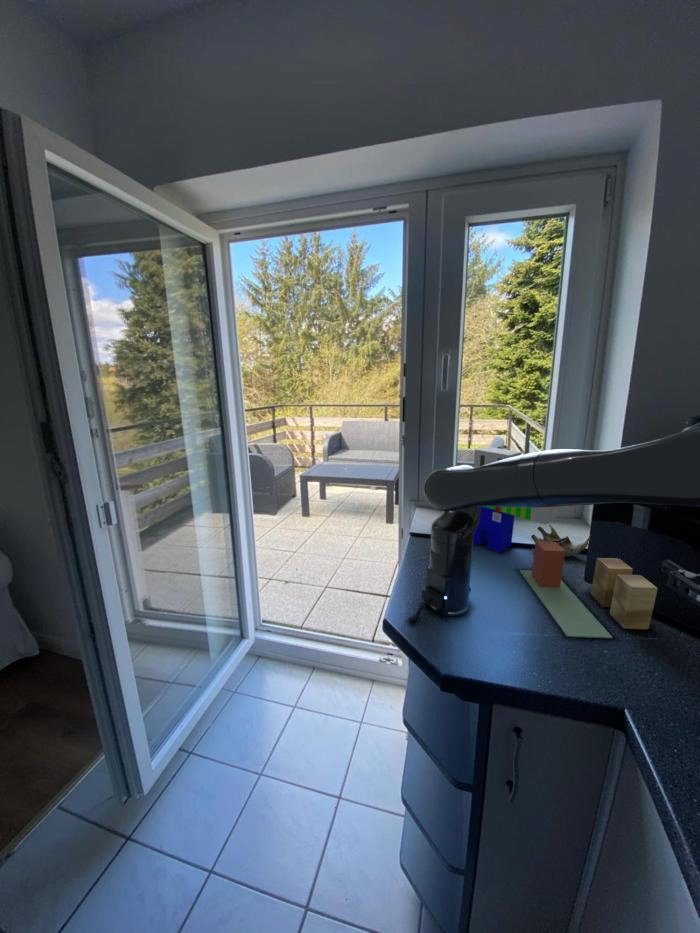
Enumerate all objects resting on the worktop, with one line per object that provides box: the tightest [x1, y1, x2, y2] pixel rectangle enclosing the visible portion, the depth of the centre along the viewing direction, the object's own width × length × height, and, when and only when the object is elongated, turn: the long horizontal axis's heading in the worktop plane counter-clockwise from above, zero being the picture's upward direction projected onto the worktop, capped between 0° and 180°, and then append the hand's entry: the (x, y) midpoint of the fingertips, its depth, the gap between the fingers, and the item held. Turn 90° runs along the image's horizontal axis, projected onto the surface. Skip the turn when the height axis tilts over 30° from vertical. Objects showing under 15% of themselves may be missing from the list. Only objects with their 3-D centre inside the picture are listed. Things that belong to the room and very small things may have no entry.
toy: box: [473, 446, 558, 553], centre depth 114 cm, size 34×7×30 cm, turn 40°
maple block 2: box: [609, 574, 659, 630], centre depth 79 cm, size 5×5×10 cm
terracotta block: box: [531, 542, 566, 587], centre depth 95 cm, size 5×5×10 cm
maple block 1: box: [590, 557, 634, 608], centre depth 87 cm, size 5×5×10 cm
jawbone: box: [530, 524, 589, 558], centre depth 109 cm, size 9×15×10 cm
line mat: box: [519, 569, 613, 639], centre depth 89 cm, size 26×9×1 cm, turn 176°
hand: (690, 565), depth 65 cm, fingers open, 8 cm apart
